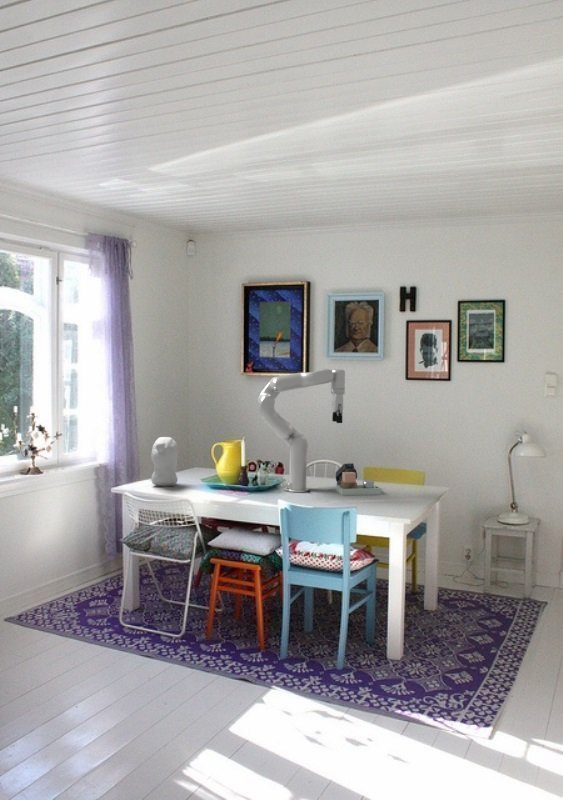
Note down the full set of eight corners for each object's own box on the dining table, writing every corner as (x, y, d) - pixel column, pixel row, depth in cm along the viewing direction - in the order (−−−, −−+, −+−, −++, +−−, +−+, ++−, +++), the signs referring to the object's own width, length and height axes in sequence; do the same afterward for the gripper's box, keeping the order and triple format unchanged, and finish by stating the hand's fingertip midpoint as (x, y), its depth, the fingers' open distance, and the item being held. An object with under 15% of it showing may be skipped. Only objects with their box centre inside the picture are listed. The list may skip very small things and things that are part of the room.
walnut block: (344, 494, 401) (344, 483, 400) (340, 491, 408) (341, 480, 407) (356, 493, 402) (357, 482, 402) (353, 491, 409) (353, 480, 408)
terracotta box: (344, 482, 401) (345, 473, 401) (342, 481, 406) (342, 472, 406) (355, 482, 403) (355, 473, 402) (352, 480, 407) (353, 471, 407)
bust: (181, 483, 433) (181, 435, 432) (172, 491, 407) (172, 440, 405) (156, 482, 434) (156, 434, 432) (145, 490, 408) (145, 439, 406)
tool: (350, 486, 412) (345, 461, 418) (337, 498, 428) (331, 473, 434) (360, 486, 414) (354, 461, 420) (346, 497, 430) (341, 473, 436)
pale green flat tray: (341, 496, 398) (341, 489, 398) (336, 492, 410) (336, 485, 409) (381, 495, 402) (381, 488, 402) (374, 491, 414) (374, 484, 413)
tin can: (364, 493, 403) (364, 482, 403) (361, 491, 409) (361, 480, 409) (375, 493, 404) (375, 482, 404) (371, 491, 410) (372, 480, 410)
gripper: (327, 390, 422) (327, 420, 423) (334, 392, 405) (334, 423, 406) (340, 390, 423) (340, 420, 424) (348, 392, 406) (347, 423, 407)
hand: (337, 422), depth 415 cm, fingers open, 9 cm apart
